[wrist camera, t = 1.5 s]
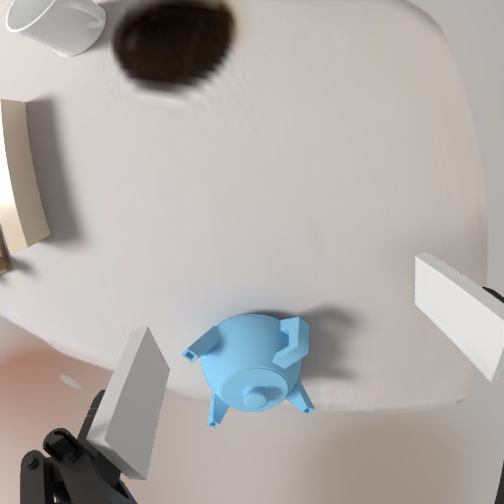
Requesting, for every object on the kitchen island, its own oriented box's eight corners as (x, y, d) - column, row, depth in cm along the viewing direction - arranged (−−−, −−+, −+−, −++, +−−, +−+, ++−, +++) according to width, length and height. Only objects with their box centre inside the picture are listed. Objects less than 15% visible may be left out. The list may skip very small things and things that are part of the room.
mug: (137, 14, 24) (103, -30, 13) (101, 68, 27) (51, 42, 15) (76, 2, 22) (35, -31, 11) (44, 51, 24) (-7, 31, 13)
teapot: (303, 377, 43) (318, 427, 33) (210, 389, 43) (208, 441, 33) (300, 296, 38) (322, 344, 28) (188, 311, 38) (176, 363, 28)
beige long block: (8, 114, 26) (-17, 112, 21) (26, 102, 26) (0, 99, 21) (33, 240, 33) (10, 254, 27) (51, 234, 33) (28, 247, 27)
